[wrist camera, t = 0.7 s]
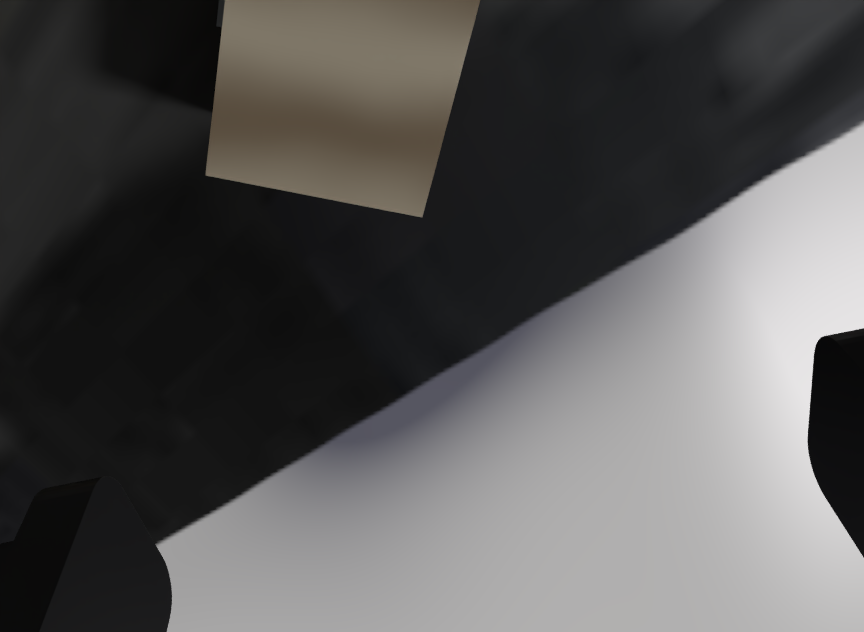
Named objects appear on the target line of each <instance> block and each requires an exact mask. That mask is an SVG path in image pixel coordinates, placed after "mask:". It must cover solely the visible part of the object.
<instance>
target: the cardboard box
mask: <svg viewBox="0 0 864 632" xmlns="http://www.w3.org/2000/svg"><path fill="white" fill-rule="evenodd" d="M479 3H480V0H219V5H218V14H217V24H216V26H217V27H222V32H221V41H220V50H219V59H218V68H217V77H216V86H215V95H214V104H213V113H212V122H211V131H210V140H209V149H208V158H207V167H206V175H207V176H212V177H217V178H222V179H227V180H232V181H238V182H243V183H248V184H253V185H258V186H263V187H268V188H274V189H279V190H284V191H289V192H294V193H299V194H304V195H310V196H315V197H320V198H325V199H330V200H335V201H340V202H346V203H351V204H356V205H361V206H366V207H371V208H377V209H382V210H387V211H392V212H397V213H402V214H407V215H413V216H418V217H422V216H423V212H424V209H425V205H426V201H427V197H428V194H429V190H430V186H431V182H432V179H433V175H434V171H435V167H436V164H437V160H438V156H439V153H440V149H441V145H442V141H443V138H444V134H445V130H446V126H447V123H448V119H449V115H450V111H451V108H452V104H453V100H454V96H455V93H456V89H457V85H458V81H459V78H460V74H461V70H462V66H463V63H464V59H465V55H466V51H467V48H468V44H469V40H470V36H471V33H472V29H473V25H474V21H475V18H476V14H477V10H478V6H479Z"/></svg>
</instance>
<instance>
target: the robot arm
mask: <svg viewBox="0 0 864 632" xmlns="http://www.w3.org/2000/svg"><path fill="white" fill-rule="evenodd" d="M808 450H809V456H810V461H811V465H812V469H813V472H814V475H815V477H816V480H817V482H818V485H819V487H820V489H821V491H822V492H823V494H824V496H825V498H826V499H827V501H828V502H829V504H830V505H831V507H832V508H833V510H834V512H835V513H836V515H837V516H838V518H839V519H840V521H841V523H842V524H843V526H844V527H845V529H846V530H847V532H848V534H849V535H850V537H851V538H852V540H853V541H854V543H855V544H856V546H857V548H858V549H859V551H860V552H861V554H862V555H863V557H864V329H859V330H854V331H849V332H844V333H838V334H834V335H828V336H824V337H821V338H820V339H819V340H818V342H817V344H816V348H815V353H814V364H813V376H812V390H811V402H810V415H809V428H808ZM171 605H172V591H171V582H170V577H169V573H168V569H167V566H166V563H165V561H164V559H163V557H162V555H161V554H160V552H159V550H158V548H157V547H156V545H155V543H154V541H153V540H152V538H151V536H150V534H149V533H148V531H147V529H146V528H145V526H144V524H143V522H142V521H141V519H140V517H139V515H138V514H137V512H136V510H135V508H134V507H133V505H132V503H131V501H130V500H129V498H128V496H127V494H126V493H125V491H124V489H123V488H122V486H121V485H120V483H119V482H118V481H117V480H115V479H114V478H112V477H109V476H105V477H100V478H95V479H90V480H85V481H80V482H75V483H70V484H65V485H60V486H55V487H50V488H45V489H43V490H41V491H40V492H38V493H37V495H36V496H35V497H34V499H33V501H32V502H31V505H30V507H29V509H28V511H27V513H26V515H25V518H24V520H23V522H22V524H21V526H20V529H19V531H18V533H17V535H16V537H15V540H14V541H11V542H6V543H1V544H0V632H167V627H168V623H169V619H170V613H171Z"/></svg>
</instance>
